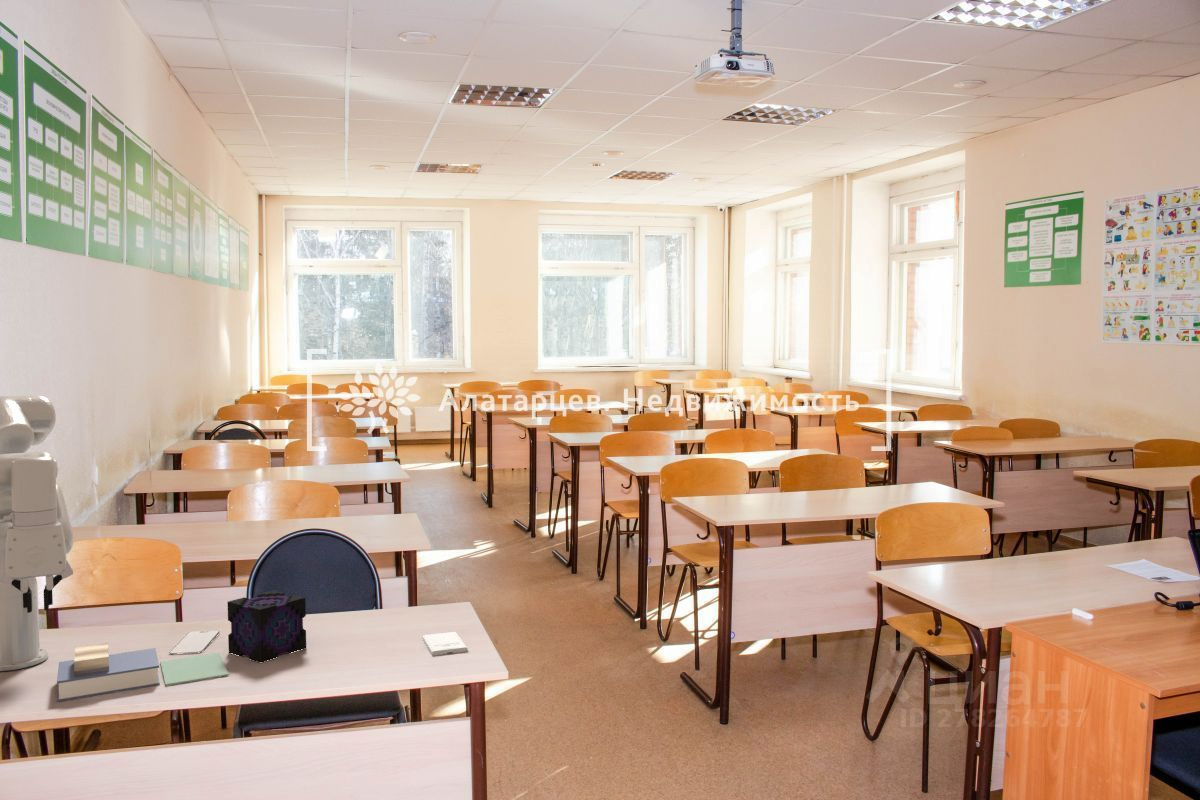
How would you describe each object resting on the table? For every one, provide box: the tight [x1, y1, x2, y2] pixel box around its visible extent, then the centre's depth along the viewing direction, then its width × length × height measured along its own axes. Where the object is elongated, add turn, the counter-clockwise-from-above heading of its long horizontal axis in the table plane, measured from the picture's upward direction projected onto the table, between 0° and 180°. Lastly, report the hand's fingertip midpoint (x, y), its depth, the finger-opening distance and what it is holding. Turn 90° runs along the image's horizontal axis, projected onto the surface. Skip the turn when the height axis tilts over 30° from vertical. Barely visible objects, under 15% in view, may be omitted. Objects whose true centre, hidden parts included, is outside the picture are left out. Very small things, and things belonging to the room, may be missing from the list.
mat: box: [160, 652, 229, 687], centre depth 193 cm, size 16×12×1 cm
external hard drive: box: [421, 631, 469, 657], centre depth 209 cm, size 2×8×12 cm
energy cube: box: [227, 589, 307, 663], centre depth 205 cm, size 12×12×12 cm
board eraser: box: [73, 642, 110, 676], centre depth 184 cm, size 10×6×3 cm, turn 30°
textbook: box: [56, 647, 161, 702], centre depth 185 cm, size 13×18×4 cm
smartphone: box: [169, 630, 220, 655], centre depth 211 cm, size 7×1×15 cm
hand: (38, 609), depth 179 cm, fingers closed
